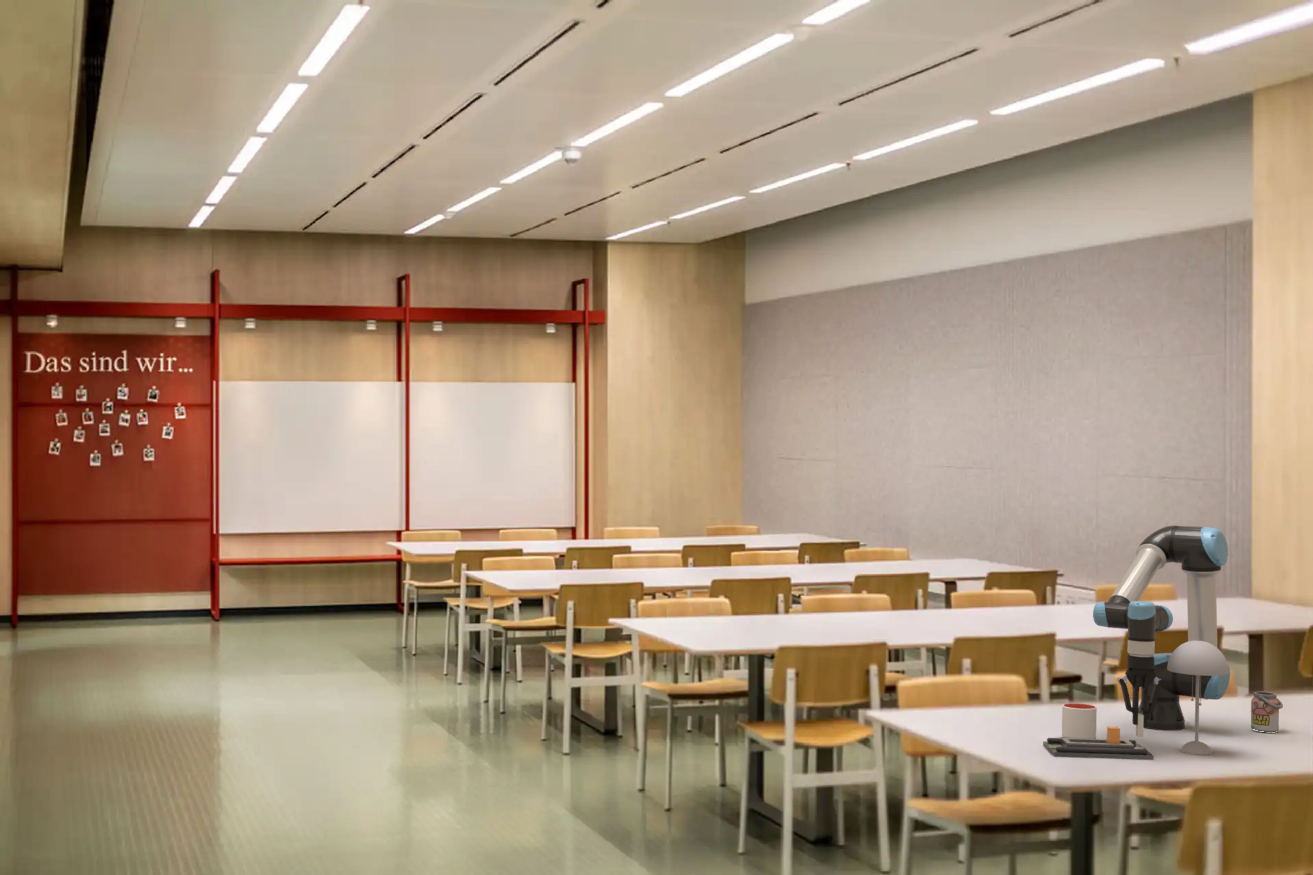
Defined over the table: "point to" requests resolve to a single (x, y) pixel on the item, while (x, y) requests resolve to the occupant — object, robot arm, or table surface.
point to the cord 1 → (1057, 740)
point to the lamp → (1197, 678)
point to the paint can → (1265, 712)
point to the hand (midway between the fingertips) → (1139, 736)
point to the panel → (1098, 755)
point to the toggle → (1113, 735)
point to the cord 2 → (1101, 750)
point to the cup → (1079, 721)
